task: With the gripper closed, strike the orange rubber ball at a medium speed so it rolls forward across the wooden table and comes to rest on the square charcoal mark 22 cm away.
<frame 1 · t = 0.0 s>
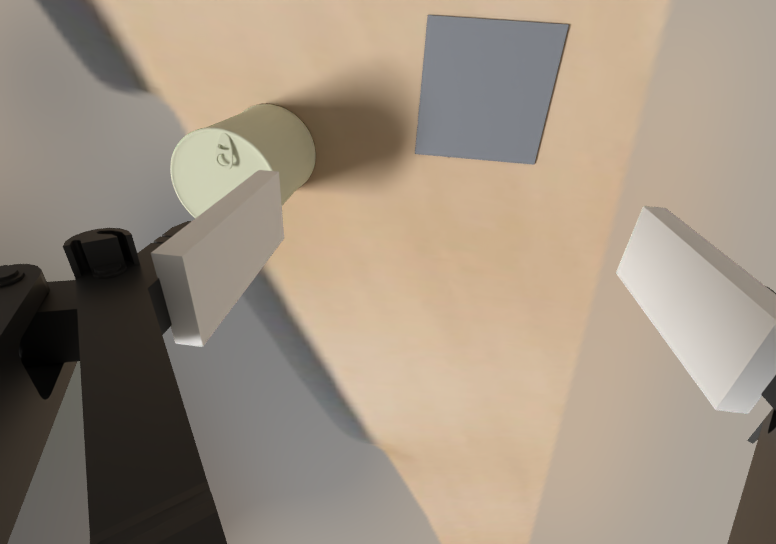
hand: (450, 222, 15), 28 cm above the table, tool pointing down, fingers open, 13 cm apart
can: (274, 149, 43), on the table
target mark: (484, 94, 38), on the table
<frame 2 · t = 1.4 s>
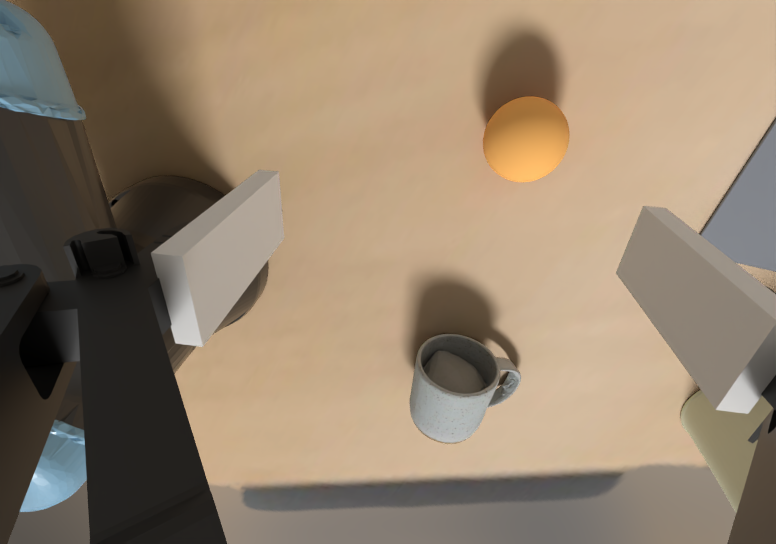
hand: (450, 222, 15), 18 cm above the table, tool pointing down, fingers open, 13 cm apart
can: (731, 409, 40), on the table
ceramic mug: (464, 361, 42), on the table
ball: (524, 140, 27), on the table
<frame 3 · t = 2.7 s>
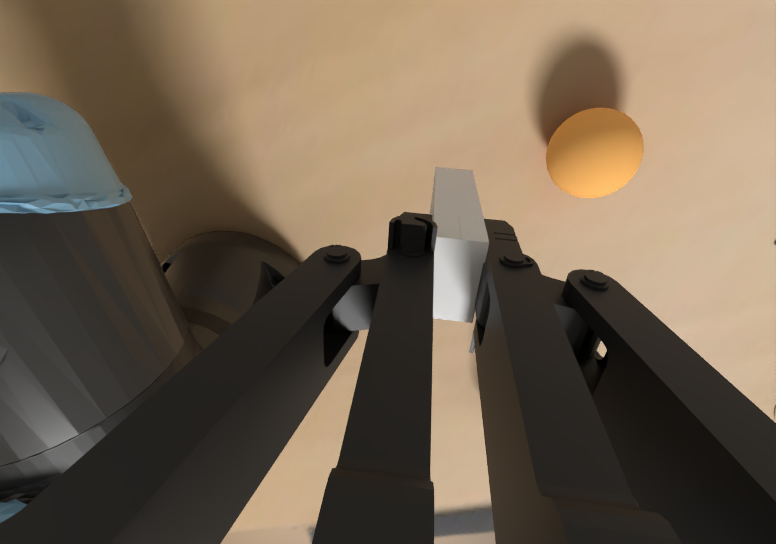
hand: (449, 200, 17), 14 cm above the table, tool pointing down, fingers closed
ball: (592, 154, 26), on the table
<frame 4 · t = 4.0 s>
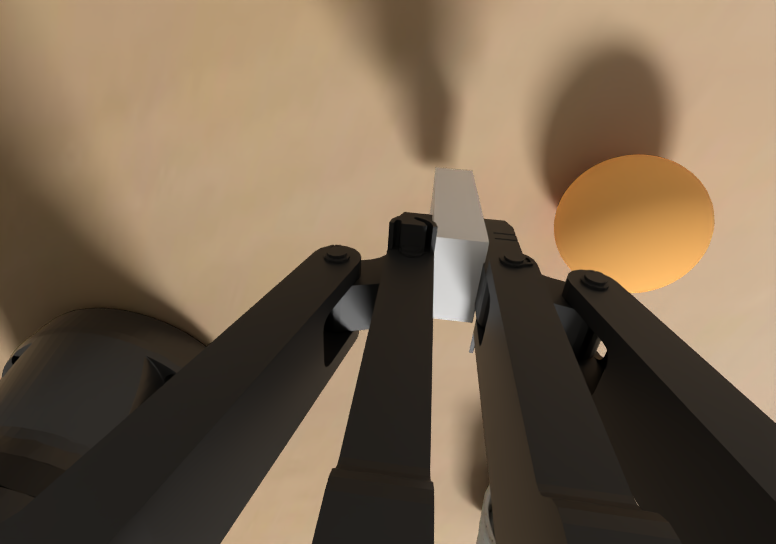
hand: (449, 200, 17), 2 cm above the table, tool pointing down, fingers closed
ceramic mug: (541, 491, 31), on the table
ball: (627, 225, 16), on the table
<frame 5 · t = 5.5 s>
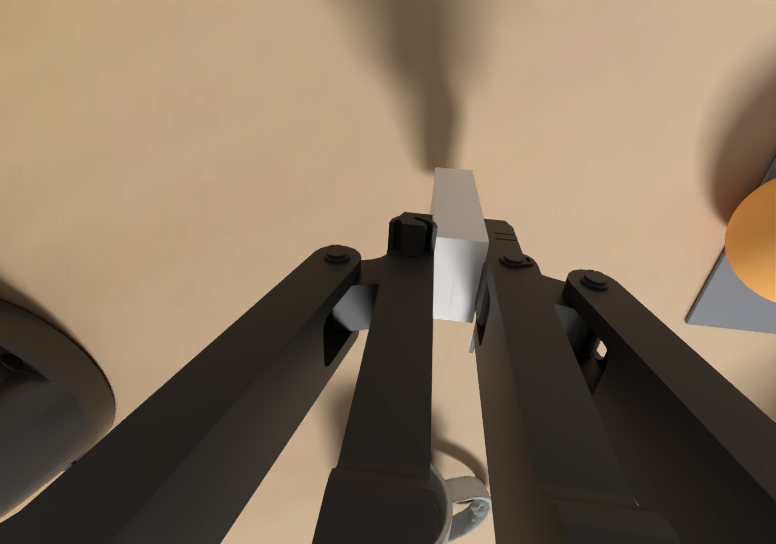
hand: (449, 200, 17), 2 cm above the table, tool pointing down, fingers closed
ceramic mug: (415, 477, 31), on the table
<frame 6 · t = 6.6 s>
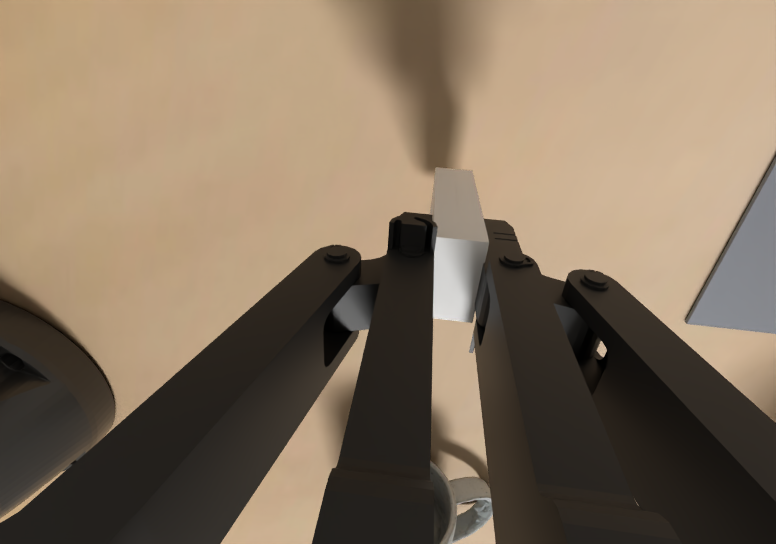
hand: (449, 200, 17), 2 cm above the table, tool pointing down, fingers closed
ceramic mug: (418, 478, 31), on the table
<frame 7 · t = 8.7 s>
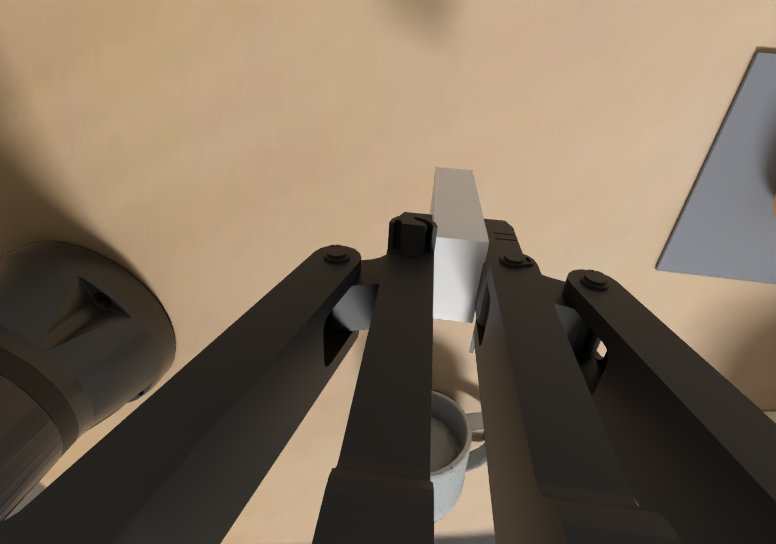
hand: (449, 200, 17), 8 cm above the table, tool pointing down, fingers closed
ceramic mug: (438, 417, 36), on the table
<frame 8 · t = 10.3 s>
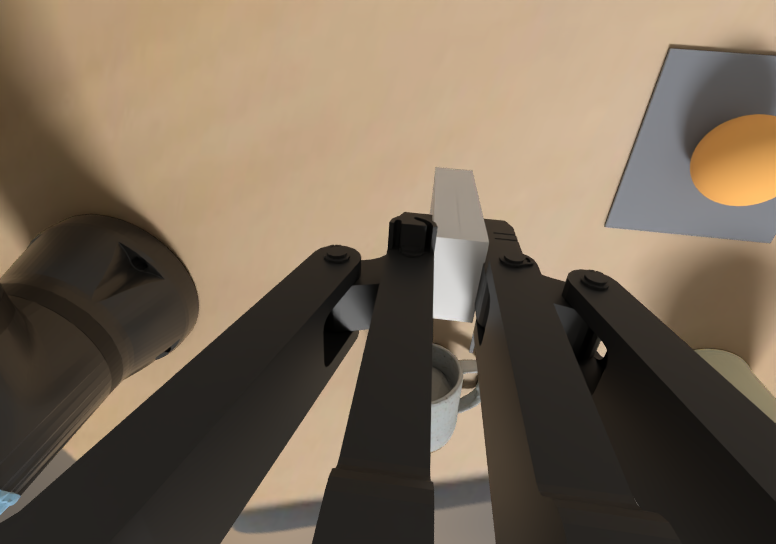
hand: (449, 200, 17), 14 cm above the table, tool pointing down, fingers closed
can: (691, 383, 38), on the table
ceramic mug: (433, 367, 41), on the table
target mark: (723, 154, 28), on the table
ball: (744, 161, 25), on the table
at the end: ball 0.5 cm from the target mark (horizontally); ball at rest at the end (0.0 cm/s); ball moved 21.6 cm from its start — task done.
